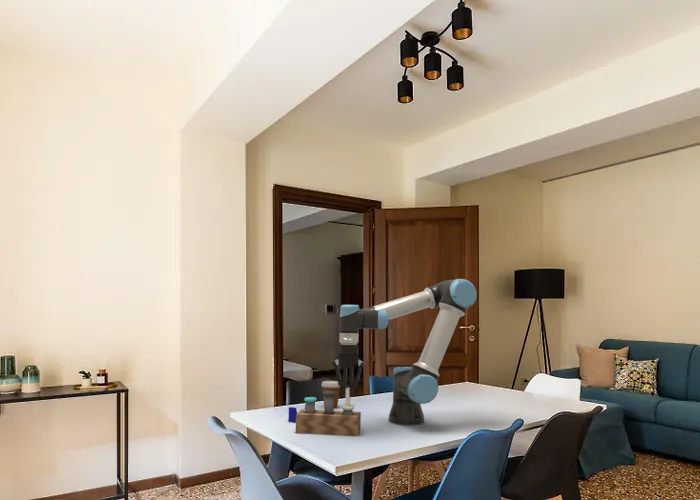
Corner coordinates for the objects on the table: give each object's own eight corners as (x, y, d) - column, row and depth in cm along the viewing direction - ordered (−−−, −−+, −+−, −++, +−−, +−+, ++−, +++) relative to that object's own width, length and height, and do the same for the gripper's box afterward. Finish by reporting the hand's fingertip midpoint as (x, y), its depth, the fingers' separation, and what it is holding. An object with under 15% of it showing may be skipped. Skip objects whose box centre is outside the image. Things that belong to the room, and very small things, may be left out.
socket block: (360, 429, 207) (360, 411, 207) (357, 436, 197) (357, 417, 198) (301, 426, 210) (302, 409, 211) (295, 432, 200) (296, 414, 201)
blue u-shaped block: (296, 423, 216) (296, 408, 217) (288, 422, 219) (288, 407, 220) (315, 418, 226) (315, 404, 227) (307, 417, 229) (307, 403, 229)
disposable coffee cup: (332, 410, 243) (332, 384, 244) (316, 407, 249) (317, 382, 250) (344, 407, 251) (345, 382, 252) (329, 404, 256) (329, 380, 258)
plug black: (335, 414, 206) (336, 391, 207) (333, 417, 201) (334, 393, 202) (324, 414, 207) (324, 390, 208) (321, 416, 202) (322, 392, 203)
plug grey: (354, 428, 204) (354, 404, 205) (352, 430, 200) (353, 406, 201) (342, 427, 205) (342, 404, 206) (340, 430, 200) (340, 406, 201)
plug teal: (317, 420, 207) (317, 397, 208) (314, 423, 202) (315, 399, 203) (305, 419, 208) (305, 396, 208) (302, 422, 203) (303, 398, 204)
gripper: (330, 344, 203) (329, 405, 201) (364, 345, 201) (363, 407, 199) (334, 342, 210) (333, 402, 208) (366, 343, 209) (365, 403, 206)
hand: (347, 404), depth 203 cm, fingers closed
